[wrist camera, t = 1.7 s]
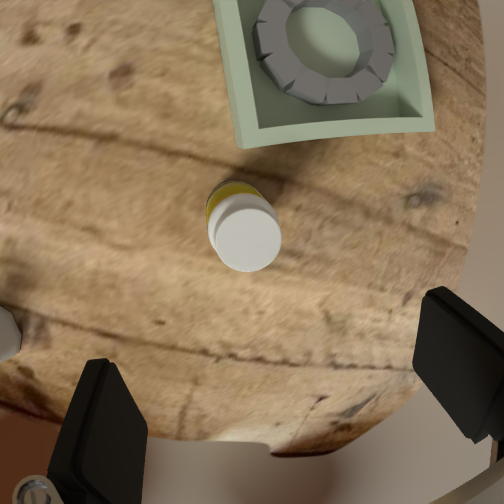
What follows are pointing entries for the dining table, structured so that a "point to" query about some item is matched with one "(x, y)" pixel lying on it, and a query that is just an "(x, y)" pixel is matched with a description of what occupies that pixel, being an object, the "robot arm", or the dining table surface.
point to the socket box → (322, 69)
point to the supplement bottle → (242, 226)
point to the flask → (8, 335)
